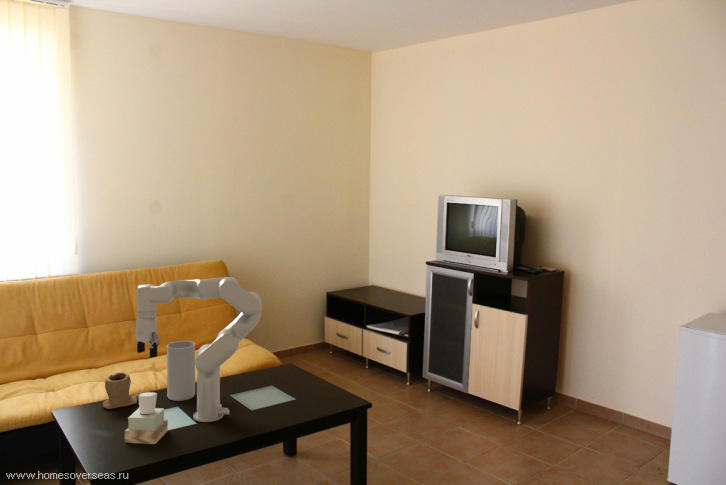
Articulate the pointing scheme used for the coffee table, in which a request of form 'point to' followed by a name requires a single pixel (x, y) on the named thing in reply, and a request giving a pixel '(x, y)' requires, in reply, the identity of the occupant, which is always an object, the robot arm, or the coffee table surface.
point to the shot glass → (147, 402)
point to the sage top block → (146, 420)
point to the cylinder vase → (180, 370)
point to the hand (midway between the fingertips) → (147, 354)
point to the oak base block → (146, 434)
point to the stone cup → (119, 391)
